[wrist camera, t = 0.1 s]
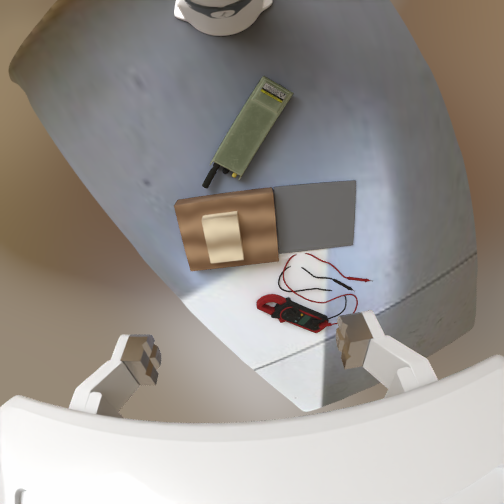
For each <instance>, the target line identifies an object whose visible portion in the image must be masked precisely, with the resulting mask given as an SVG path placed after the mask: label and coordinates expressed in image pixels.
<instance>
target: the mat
mask: <svg viewBox="0 0 504 504" xmlns="http://www.w3.org/2000/svg"><path fill="white" fill-rule="evenodd" d="M355 194H356V181H355V180H354V181H338V182H324V183H311V184H300V185H289V186H279V187H274V195H275V206H276V218H277V230H278V242H279V254H282V253H290V252H299V251H307V250H315V249H324V248H332V247H340V246H349V245H353V237H354V220H355Z"/></svg>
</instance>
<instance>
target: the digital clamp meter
mask: <svg viewBox="0 0 504 504" xmlns="http://www.w3.org/2000/svg"><path fill="white" fill-rule="evenodd" d="M305 254H308V253H305ZM296 255H297V254H296ZM308 255H311V256H313V255H312V254H308ZM293 256H295V255H293ZM293 256H292V257H293ZM292 257H291V258H292ZM313 257H315V256H313ZM291 258H290V259H291ZM315 258H316V259H318V260H320V261H322V262H325V263H328V264H330V265H331V266H333V265H332V264H331V263H329V262H326V261H323V260H321V259H319V258H317V257H315ZM290 259H289V260H290ZM289 260H288V261H287V263H288V262H289ZM287 263H286V265H285V267H284V270H283V272H282V273H281V275H282V274H283V280H284V283H285V284H286V282H285V279H284V271H285V270H286V269H288V268H289V267H287V268H286V266H287ZM290 267H291V266H290ZM333 267H334V266H333ZM285 268H286V269H285ZM301 268H302V267H301ZM334 268H335V269H336V270H337V271H338V272H339V270H338V269H337V268H336V267H334ZM302 269H304V268H302ZM304 270H305V271H307V270H306V269H304ZM307 272H308V271H307ZM308 273H309V274H311V273H310V272H308ZM339 273H340V272H339ZM340 274H341V273H340ZM281 275H280V277H281ZM311 275H312V274H311ZM341 275H342V274H341ZM312 276H313V275H312ZM342 276H343V275H342ZM280 277H279V280H280ZM313 277H315V278H325V279H332V278H327V277H316V276H313ZM343 277H344V278H347V279H348V280H358V281H365V282H367V281H371V280H369V279H367V278H366V279H362V278H354V277H345V276H343ZM279 280H278V285H279ZM332 280H333V281H334V282H336V283H338V284H340V285H342V286H343V287H345V288H347V289H348V290H353V289H352V288H351V287H349V286H347V285H345V284H344V283H342V282H340V281H338V280H337V279H332ZM286 286H287V287H288V288H289V286H288V285H287V284H286ZM279 288H280V289H281V290H283V291H286V292H294V293H295V294H296V295H298V296H300V297H302V296H301V295H299V294H297V293H296V292H298V291H305V290H312V289H319V288H312V289H304V290H297V291H293V290H292V289H291V288H289V289H290V290H291V291H287V290H284V289H282V288H281V287H280V285H279ZM319 290H325V291H332V290H326V289H319ZM353 291H354V290H353ZM345 295H353V294H345ZM345 295H341V296H345ZM341 296H338V297H341ZM353 296H354V297H355V298H356V301H357V297H356V296H355V295H353ZM338 297H336V298H338ZM302 298H304V297H302ZM336 298H334V299H336ZM304 299H306V298H304ZM334 299H331V300H334ZM306 300H308V301H311V302H316V301H312V300H309V299H306ZM331 300H329V301H331ZM345 300H346V296H345ZM329 301H327V302H329ZM269 302H275V303H277V305H276V306H275V307H271V306H269V305H266V303H269ZM327 302H316V303H327ZM357 305H358V301H357ZM357 305H356V308H357ZM345 308H346V303H345ZM345 308H344V310H345ZM356 308H355V311H356ZM257 309H259V310H261V311H263V312H266V313H268V314H270V315H271V317H272V318H278V319H279V321H280V322H281V323H282V322H285V321H286V322H289V323H291V324H294V325H296V326H299V327H301V328H304V329H306V330H309V331H312V332H314V333H318V332H320V331H321V330H323V329H324V328H325V327H326V326H331V325H333V324H331V323H328V319H330V318H333V317H336V316H338V315H340V314H341V313H342V312H343V311H344V310H343V311H342V312H341V313H339V314H338V315H336V316H333V317H330V318H327V316H325V315H323V314H321V313H318V312H316V311H314V310H311V309H309V308H306V307H304V306H302V305H299V304H297V303H295V302H292V301H291V300H290V298H289V297H288V298H284V297H282V296H279V295H275V294H269V295H265V296H263V297H261V298H260V299H258V301H257ZM355 311H354V312H355ZM354 312H353V313H354ZM334 324H338V323H334Z"/></svg>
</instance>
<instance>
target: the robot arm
mask: <svg viewBox="0 0 504 504" xmlns="http://www.w3.org/2000/svg"><path fill="white" fill-rule="evenodd" d="M271 5H272V0H176V4H175V11H174V15H175V17H176V18H178V19H180V20H183V21H187V22H189V23H190V24H191V25H192V26H194V27H195V28H196V29H197V30H199V31H201V32H203V33H206V34H209V35H215V36H226V35H232V34H235V33H238V32H241V31H243V30H245V29H246V28H248V27H249V26H250V25H252V24H253V23H254V21H255V20H256V19H257V17H258V16H259V14H260V13H261V12H262V11H264V10H265V9H267V8H268V7H270V6H271ZM337 323H338V326H339V327H338V328H337V329H336V343H337V347H338V350H339V351H341V352H342V355H341V359H342V362H343V366H344V369H350V368H355V367H360V366H363V367H364V368H365V369H366V370H367V371H368V372H369V373H371V374H372V375H373V376H374V377H375V378H376V379H377V380H379V381H380V382H381V383H382V384H383V385H384V386H386V387H387V388H388V391H387V393H386V395H385V397H384V399H380V400H376V401H373V402H369V403H365V404H361V405H357V406H352V407H348V408H343V409H338V410H333V411H329V412H323V413H317V414H312V415H305V416H298V417H291V418H284V419H274V420H264V421H251V422H235V423H171V422H156V421H144V420H134V419H125V418H123V416H122V415H120V413H119V411H120V409H121V408H122V407H123V406H124V404H125V403H126V402H127V401H128V400H129V398H130V397H131V396H132V395H133V393H134V392H135V391H136V390H137V389H138V388H139V385H156V382H157V378H158V372H157V371H156V370H157V369H158V368H159V367H160V364H161V353H160V350H159V348H158V346H156V345H155V344H154V341H155V340H154V338H153V336H152V335H121V336H120V337H119V339H118V342H117V344H116V347H115V350H114V352H113V355H112V358H111V360H110V361H107V362H106V363H105V364H103V365H102V366H101V367H100V368H99V369H98V370H97V371H95V372H94V373H93V374H92V375H91V376H90V377H88V378H87V379H86V380H85V381H84V382H83V383H82V384H80V385H79V386H78V387H77V388H76V390H75V392H74V395H73V398H72V401H71V403H70V406H69V409H68V408H64V407H60V406H56V405H52V404H48V403H44V402H41V401H37V400H34V399H31V398H28V397H24V396H21V395H17V396H14V397H13V398H11V399H10V400H8V401H7V402H6V403H5V404H3V405H2V406H1V407H0V504H504V356H501V355H493V356H491V357H489V358H487V359H485V360H483V361H481V362H479V363H477V364H475V365H473V366H471V367H468V368H466V369H464V370H462V371H459V372H457V373H455V374H452V375H450V376H448V377H445V378H443V379H440V380H438V379H437V377H436V375H435V373H434V371H433V369H432V367H431V365H430V363H429V361H428V360H427V359H426V358H425V357H423V356H421V355H420V354H418V353H416V352H415V351H413V350H411V349H410V348H408V347H407V346H405V345H403V344H402V343H400V342H398V341H397V340H395V339H394V338H392V337H390V336H389V335H387V336H385V334H384V332H383V330H382V328H381V326H380V324H379V322H378V320H377V318H376V317H375V315H374V313H373V311H372V310H368V311H363V312H358V313H352V314H347V315H341V316H339V317H338V320H337Z"/></svg>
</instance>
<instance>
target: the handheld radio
mask: <svg viewBox="0 0 504 504" xmlns="http://www.w3.org/2000/svg"><path fill="white" fill-rule="evenodd" d="M292 95H293V93H292V92H291V91H289V90H287V89H286V88H284V87H282V86H281V85H279V84H277V83H275V82H274V81H272V80H270V79H268V78H267V77H265V76H263V77H262V78H261V80H260V81H259V83H258V84H257V86H256V87H255V89H254V91H253V92H252V94H251V95H250V97H249V98H248V100H247V102H246V103H245V105H244V106H243V108H242V110H241V111H240V113H239V115H238V116H237V118H236V119H235V121H234V123H233V124H232V126H231V128H230V130H229V131H228V133H227V135H226V136H225V138H224V140H223V142H222V143H221V145H220V147H219V148H218V150H217V152H216V154H215V156H214V157H213V159H212V161H211V163H210V165H211V164H212V162H215V163H214V164H213V168H212V169H211V170H210V172H209V173H208V175H207V177H206V179H205V181H204V183H203V185H202V186H203V187H204V188H208V187H209V185H210V183H211V181H212V179H213V178H214V176H215V174H216V171H217V169H218V168H219V167H220V165H221V166H223V167H224V169H223V173H224V174H227V173H228V172H229V171H230V170H231V171H232V172H234V173H233V174H232V177H234V178H235V177H236V176H237V174H238V175H240V177H239V179H238V180H240V178H241V177H242V175H243V173H244V172H245V170H246V168H247V167H248V165H249V163H250V162H251V160H252V158H253V157H254V155H255V153H256V152H257V150H258V149H259V147H260V145H261V144H262V142H263V140H264V139H265V137H266V136H267V134H268V132H269V131H270V129H271V128H272V126H273V124H274V123H275V121H276V120H277V118H278V117H279V115H280V113H281V112H282V110H283V109H284V107H285V106H286V104H287V103H288V101H289V100H290V98H291V97H292ZM226 168H227V169H226Z"/></svg>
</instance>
